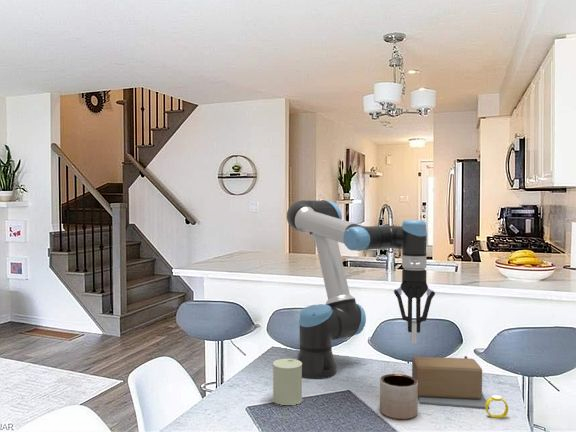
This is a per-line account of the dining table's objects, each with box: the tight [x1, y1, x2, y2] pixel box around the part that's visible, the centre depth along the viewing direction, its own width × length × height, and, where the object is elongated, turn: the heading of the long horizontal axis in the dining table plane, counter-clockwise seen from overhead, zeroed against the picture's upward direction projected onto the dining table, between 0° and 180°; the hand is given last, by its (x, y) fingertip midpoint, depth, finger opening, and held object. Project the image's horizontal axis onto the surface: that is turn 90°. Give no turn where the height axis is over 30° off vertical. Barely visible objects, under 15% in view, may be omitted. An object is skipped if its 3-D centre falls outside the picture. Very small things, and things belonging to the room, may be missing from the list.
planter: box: [379, 373, 419, 421], centre depth 143 cm, size 11×11×10 cm
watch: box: [484, 394, 509, 419], centre depth 140 cm, size 6×3×6 cm, turn 84°
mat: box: [418, 393, 490, 410], centre depth 155 cm, size 20×16×1 cm
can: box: [272, 358, 303, 406], centre depth 152 cm, size 9×9×12 cm
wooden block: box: [411, 356, 483, 399], centre depth 156 cm, size 10×10×20 cm
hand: (413, 342), depth 156 cm, fingers closed
